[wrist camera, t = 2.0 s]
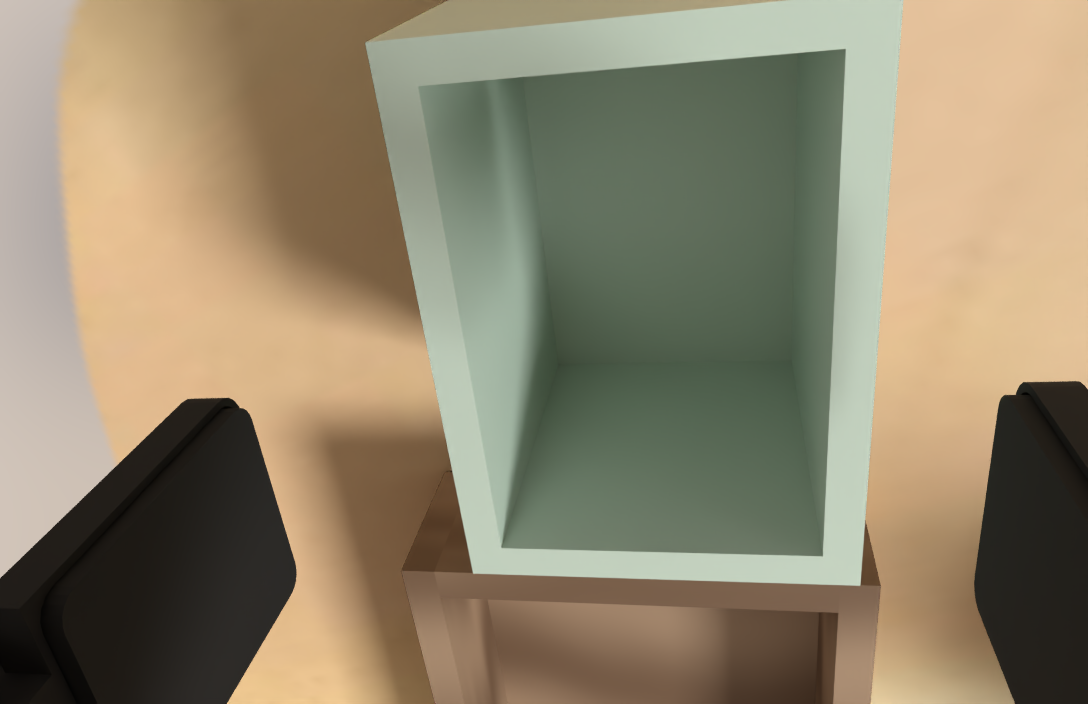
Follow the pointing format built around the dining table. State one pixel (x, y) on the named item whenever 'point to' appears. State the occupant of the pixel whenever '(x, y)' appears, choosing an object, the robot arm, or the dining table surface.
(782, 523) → the small crate
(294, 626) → the dining table surface
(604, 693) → the large crate
